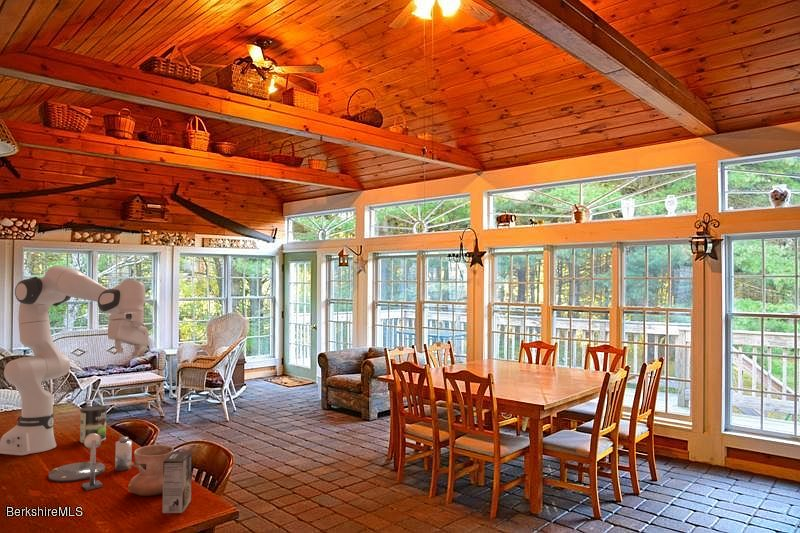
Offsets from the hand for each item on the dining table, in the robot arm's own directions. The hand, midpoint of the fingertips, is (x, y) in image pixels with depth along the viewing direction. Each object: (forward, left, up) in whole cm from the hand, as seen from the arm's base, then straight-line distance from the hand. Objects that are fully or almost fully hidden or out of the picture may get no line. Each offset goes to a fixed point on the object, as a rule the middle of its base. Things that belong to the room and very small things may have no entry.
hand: (127, 355), depth 212 cm
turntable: (-15, -5, -43) cm, 46 cm away
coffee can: (-33, +37, -43) cm, 66 cm away
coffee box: (+34, -34, -43) cm, 64 cm away
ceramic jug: (+21, -21, -43) cm, 52 cm away
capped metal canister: (-1, +1, -43) cm, 43 cm away
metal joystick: (-2, -18, -43) cm, 47 cm away
